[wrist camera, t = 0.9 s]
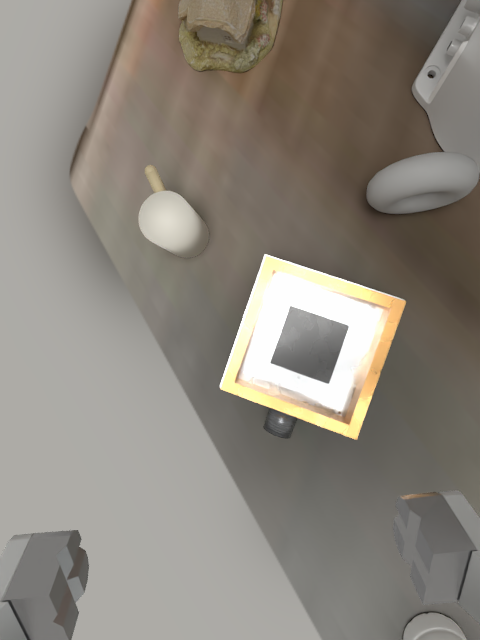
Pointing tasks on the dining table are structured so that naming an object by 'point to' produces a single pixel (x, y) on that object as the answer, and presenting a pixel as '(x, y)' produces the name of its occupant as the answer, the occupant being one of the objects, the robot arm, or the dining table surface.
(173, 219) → the spout can
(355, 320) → the white orange open box
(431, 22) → the dining table surface
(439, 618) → the water bottle
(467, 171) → the donut
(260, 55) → the ceramic model
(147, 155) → the dining table surface
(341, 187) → the dining table surface
